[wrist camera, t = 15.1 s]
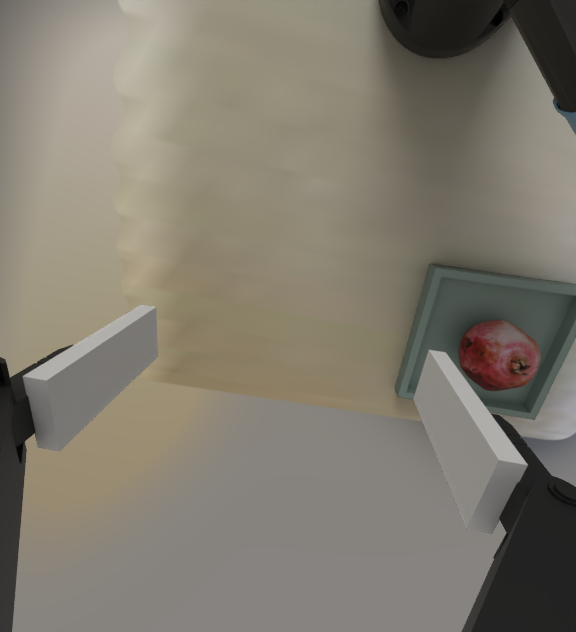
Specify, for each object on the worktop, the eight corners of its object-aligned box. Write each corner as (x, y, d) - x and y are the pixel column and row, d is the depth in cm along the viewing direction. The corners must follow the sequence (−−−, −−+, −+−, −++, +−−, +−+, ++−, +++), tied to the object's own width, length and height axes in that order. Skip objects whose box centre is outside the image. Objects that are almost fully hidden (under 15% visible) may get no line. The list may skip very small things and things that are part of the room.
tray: (430, 263, 44) (435, 267, 42) (584, 285, 43) (598, 290, 40) (394, 387, 51) (397, 397, 49) (525, 409, 50) (534, 419, 48)
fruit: (473, 382, 49) (507, 427, 40) (436, 337, 47) (463, 373, 38) (532, 348, 46) (583, 387, 37) (495, 299, 44) (540, 327, 35)
